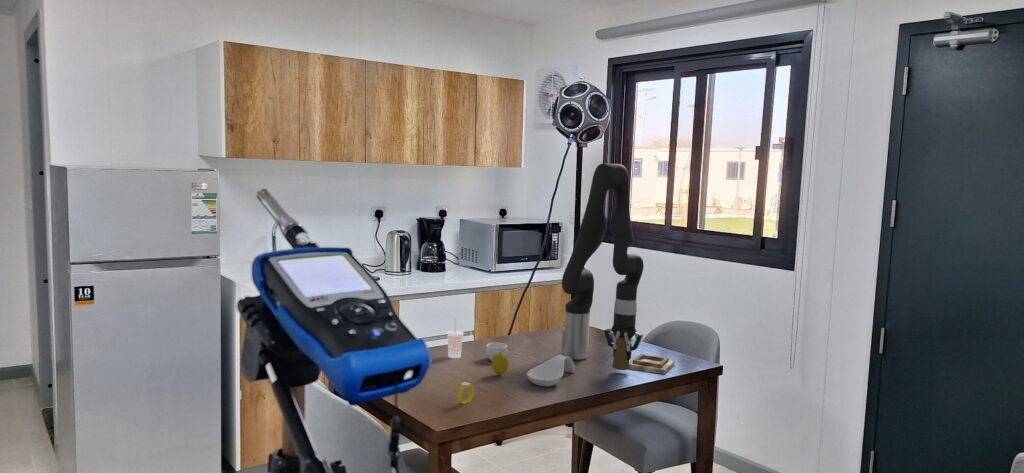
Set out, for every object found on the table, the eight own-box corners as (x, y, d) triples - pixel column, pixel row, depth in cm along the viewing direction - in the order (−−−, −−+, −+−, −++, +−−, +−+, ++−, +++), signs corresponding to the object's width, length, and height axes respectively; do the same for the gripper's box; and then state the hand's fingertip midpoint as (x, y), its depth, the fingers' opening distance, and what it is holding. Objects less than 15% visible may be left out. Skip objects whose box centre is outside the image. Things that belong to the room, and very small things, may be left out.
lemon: (496, 378, 232) (496, 355, 231) (488, 374, 237) (489, 351, 236) (510, 376, 235) (511, 353, 234) (503, 372, 240) (504, 349, 239)
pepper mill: (629, 370, 240) (631, 339, 238) (611, 369, 241) (613, 337, 240) (629, 365, 246) (632, 335, 244) (612, 364, 247) (614, 333, 246)
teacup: (498, 363, 250) (498, 349, 250) (481, 359, 255) (481, 345, 254) (514, 358, 258) (515, 344, 258) (497, 354, 263) (498, 340, 262)
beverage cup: (464, 358, 256) (466, 320, 255) (448, 359, 254) (449, 321, 252) (459, 353, 262) (461, 317, 260) (444, 354, 259) (445, 317, 258)
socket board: (626, 367, 250) (626, 360, 250) (637, 359, 263) (637, 352, 263) (664, 374, 244) (665, 366, 244) (674, 364, 257) (674, 357, 257)
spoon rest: (551, 392, 221) (552, 370, 220) (519, 385, 227) (520, 364, 226) (583, 375, 241) (584, 354, 240) (553, 369, 247) (554, 349, 246)
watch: (462, 407, 204) (462, 387, 203) (455, 405, 206) (455, 385, 205) (475, 400, 209) (475, 381, 208) (468, 398, 211) (468, 379, 210)
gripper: (602, 310, 241) (598, 359, 243) (642, 316, 234) (638, 366, 236) (609, 306, 247) (605, 354, 249) (648, 312, 241) (644, 361, 243)
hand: (621, 359), depth 243 cm, fingers closed on pepper mill, 3 cm apart
